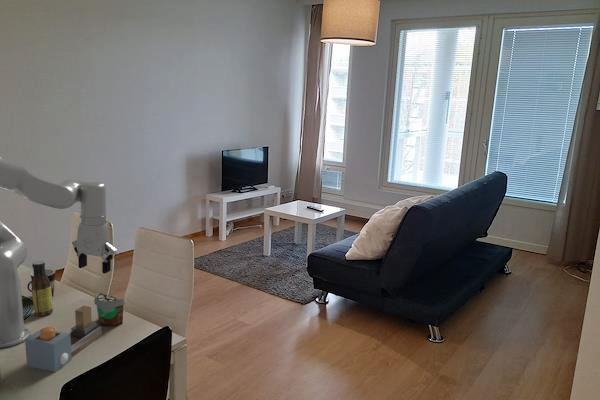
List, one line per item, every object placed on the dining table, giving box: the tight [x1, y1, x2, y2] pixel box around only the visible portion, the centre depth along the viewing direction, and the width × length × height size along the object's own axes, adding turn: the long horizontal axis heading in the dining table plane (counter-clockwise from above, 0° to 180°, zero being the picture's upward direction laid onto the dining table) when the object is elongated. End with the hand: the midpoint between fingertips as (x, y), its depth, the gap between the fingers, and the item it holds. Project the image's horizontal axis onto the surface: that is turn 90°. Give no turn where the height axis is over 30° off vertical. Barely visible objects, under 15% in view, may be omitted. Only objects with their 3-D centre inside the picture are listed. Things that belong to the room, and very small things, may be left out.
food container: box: [93, 290, 126, 328], centre depth 172 cm, size 12×6×10 cm, turn 62°
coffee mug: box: [26, 268, 56, 298], centre depth 191 cm, size 12×9×10 cm
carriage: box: [70, 305, 97, 338], centre depth 161 cm, size 5×6×9 cm
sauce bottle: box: [30, 260, 54, 317], centre depth 177 cm, size 7×6×20 cm
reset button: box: [39, 326, 56, 341], centre depth 146 cm, size 4×4×4 cm
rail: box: [68, 325, 103, 358], centre depth 158 cm, size 8×17×3 cm, turn 166°
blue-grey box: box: [24, 327, 73, 373], centre depth 146 cm, size 10×7×9 cm
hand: (94, 269), depth 161 cm, fingers open, 9 cm apart
